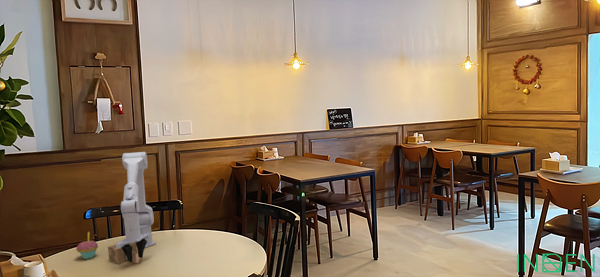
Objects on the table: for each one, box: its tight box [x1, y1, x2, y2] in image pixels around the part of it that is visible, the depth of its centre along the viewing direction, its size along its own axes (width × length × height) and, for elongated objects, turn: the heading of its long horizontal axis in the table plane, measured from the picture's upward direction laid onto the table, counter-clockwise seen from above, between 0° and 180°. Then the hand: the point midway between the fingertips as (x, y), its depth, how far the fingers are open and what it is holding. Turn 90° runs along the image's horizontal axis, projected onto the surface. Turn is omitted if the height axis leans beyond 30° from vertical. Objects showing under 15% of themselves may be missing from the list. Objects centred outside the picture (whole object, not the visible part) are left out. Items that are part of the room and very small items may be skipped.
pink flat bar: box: [124, 251, 140, 264], centre depth 187 cm, size 12×1×4 cm, turn 53°
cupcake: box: [75, 231, 99, 260], centre depth 193 cm, size 9×8×12 cm
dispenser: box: [107, 243, 138, 265], centre depth 190 cm, size 8×9×6 cm
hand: (135, 259), depth 185 cm, fingers open, 4 cm apart
